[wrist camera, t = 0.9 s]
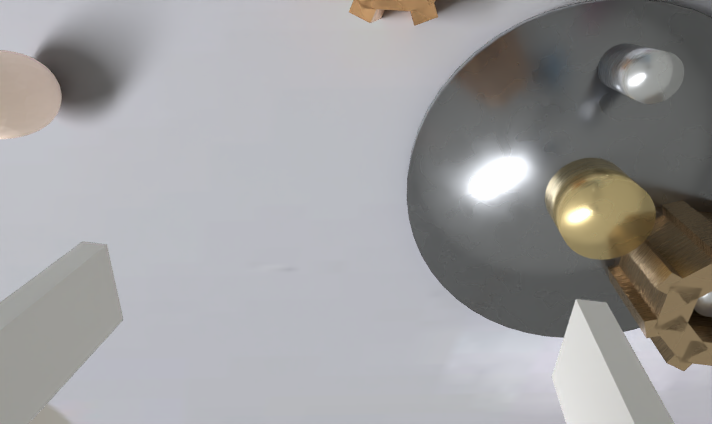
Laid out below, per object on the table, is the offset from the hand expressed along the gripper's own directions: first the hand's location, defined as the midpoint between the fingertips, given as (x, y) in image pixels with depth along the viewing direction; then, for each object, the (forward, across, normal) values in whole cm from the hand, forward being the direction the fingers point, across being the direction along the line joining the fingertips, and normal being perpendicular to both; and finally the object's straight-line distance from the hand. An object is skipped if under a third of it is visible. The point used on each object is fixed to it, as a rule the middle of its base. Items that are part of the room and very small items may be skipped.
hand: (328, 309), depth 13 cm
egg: (+21, -25, +1) cm, 32 cm away
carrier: (+20, +13, -3) cm, 25 cm away
